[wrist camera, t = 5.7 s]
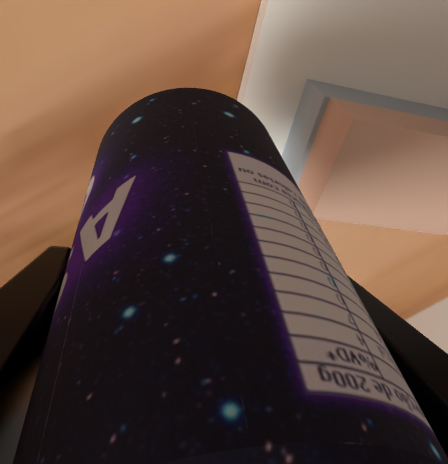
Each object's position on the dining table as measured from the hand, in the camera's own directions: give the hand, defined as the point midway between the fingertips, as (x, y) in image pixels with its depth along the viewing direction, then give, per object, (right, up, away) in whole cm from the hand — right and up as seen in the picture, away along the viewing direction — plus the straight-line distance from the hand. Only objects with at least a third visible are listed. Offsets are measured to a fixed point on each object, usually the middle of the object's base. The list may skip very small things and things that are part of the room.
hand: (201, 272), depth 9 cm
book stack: (+10, +6, +12) cm, 17 cm away
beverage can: (-1, +3, +4) cm, 6 cm away
